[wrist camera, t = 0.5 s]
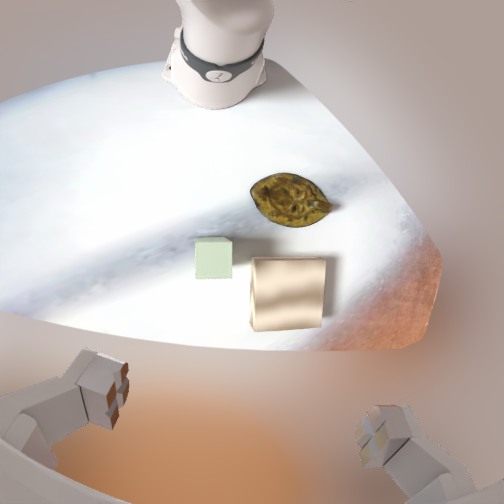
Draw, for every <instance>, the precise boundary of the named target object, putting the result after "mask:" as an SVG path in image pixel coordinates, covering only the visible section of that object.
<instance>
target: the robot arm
mask: <svg viewBox="0 0 504 504" xmlns="http://www.w3.org/2000/svg"><path fill="white" fill-rule="evenodd" d="M175 1H176V2H177V4H178V5H179V7H180V9H181V13H182V20H183V23H182V25H181V27H178V28H176V30H175V35H174V38H175V41H174V43H173V45H172V49H171V51H170V54H169V56H168V59H167V62H166V64H165V67H164V70H163V74H162V76H163V78H164V79H165V80H166V81H167V82H169V83H171V84H173V85H174V86H175V87H176V88H177V90H178V91H179V93H180V94H181V95H182V96H183V97H184V98H185V99H186V100H187V101H189V102H190V103H192V104H194V105H196V106H198V107H202V108H206V109H222V108H227V107H230V106H233V105H235V104H237V103H239V102H240V101H241V100H243V99H244V98H245V97H246V96H247V95H248V94H249V92H250V91H251V90H252V89H253V88H255V87H257V86H259V85H261V84H263V83H264V82H265V81H266V78H267V76H266V71H265V67H264V64H265V59H264V58H263V54H262V49H263V45H264V36H265V34H266V32H267V30H268V28H269V26H270V24H271V22H272V19H273V16H274V6H273V2H272V0H175ZM343 1H349V2H350V1H354V0H343ZM169 68H171V70H169ZM128 371H129V370H128V363H126V362H124V361H121V360H118V359H115V358H113V357H110V356H108V355H105V354H102V353H100V352H97V351H94V350H92V349H89V348H87V347H86V348H84V349H82V350H81V351H80V353H79V354H78V356H77V357H76V358H75V359H74V361H73V362H72V363H71V365H70V366H69V367H68V369H67V370H66V372H65V373H64V374H63V376H62V377H61V378H60V377H58V376H57V377H54V378H51V379H48V380H46V381H43V382H40V383H38V384H35V385H32V386H29V387H26V388H24V389H21V390H18V391H15V392H12V393H9V394H6V395H3V396H1V397H0V504H132V503H129V502H125V501H123V500H120V499H117V498H114V497H112V496H109V495H106V494H104V493H101V492H99V491H96V490H94V489H91V488H89V487H87V486H85V485H82V484H80V483H78V482H76V481H74V480H71V479H69V478H67V477H65V476H63V475H61V474H59V473H57V472H55V471H54V469H55V467H56V465H57V463H58V462H57V459H56V457H55V455H54V454H53V452H52V450H51V449H50V446H51V445H53V444H55V443H56V442H58V441H60V440H62V439H63V438H65V437H67V436H68V435H70V434H72V433H73V432H75V431H76V430H78V429H80V428H82V427H83V426H85V425H86V424H88V423H89V422H91V423H93V424H96V425H99V426H101V427H104V428H107V429H110V430H113V428H114V426H115V424H116V422H117V419H118V417H119V410H118V409H119V408H121V407H122V406H124V404H125V402H126V400H127V396H128V392H129V380H128V378H127V377H126V375H127V373H128ZM367 414H368V416H367V417H365V418H363V419H362V420H361V421H360V422H359V424H358V425H357V429H356V433H355V438H356V442H357V444H358V445H359V446H360V447H361V448H362V449H361V451H360V452H359V454H360V459H361V462H362V466H363V467H380V466H383V467H382V468H383V469H384V470H385V471H386V472H387V474H388V475H389V476H390V477H391V478H392V479H393V480H394V482H395V483H396V484H397V485H398V486H399V487H400V488H401V490H402V491H403V492H404V493H405V494H406V495H407V496H408V497H409V498H410V499H409V500H408V501H406V502H405V503H403V504H504V478H503V479H501V480H499V481H498V482H495V483H494V484H491V485H489V486H487V487H485V488H482V489H480V490H478V491H477V490H476V487H475V485H474V483H473V480H472V478H471V476H470V473H469V471H468V469H467V467H466V466H465V465H464V464H462V463H461V462H460V461H458V460H457V459H456V458H455V457H453V456H452V455H451V454H449V453H448V452H447V451H445V450H444V449H443V448H442V447H441V446H439V445H438V444H437V443H435V442H434V441H433V440H431V439H430V438H429V437H427V436H424V434H423V432H422V429H421V427H420V425H419V423H418V421H417V418H416V416H415V415H414V412H413V410H412V408H411V407H410V406H409V405H373V406H372V407H370V408H369V410H368V411H367Z"/></svg>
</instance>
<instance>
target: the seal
mask: <svg viewBox="0 0 504 504" xmlns="http://www.w3.org/2000/svg"><path fill="white" fill-rule="evenodd" d="M250 193H251V196H252V198H253V200H254V202H255V204H256V207H257V208H258V210H259V211H260V212H261V213H262V214H263V215H264V216H265V217H266V218H267V219H268V220H270V221H272V222H274V223H277V224H280V225H282V226H287V227H305V226H309V225H311V224H313V223H315V222H317V221H319V220H320V219H322V218H323V217H324V216H325V215H326V214H327V213H329V212H330V211H331V210H332V204H331V203H327V201H326V199H325V197H324V195H323V194H322V192H321V191H320V189H318V187H316V186H315V185H314V184H313V183H312V182H311V181H309V180H306V179H304V178H302V177H300V176H298V175H295V174H289V173H277V174H274V175H270V176H268V177H266V178H264V179H261V180H260V181H258V182H257V183H255V184H254V185H253V186H252V188H251V189H250Z"/></svg>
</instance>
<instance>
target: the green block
mask: <svg viewBox="0 0 504 504" xmlns="http://www.w3.org/2000/svg"><path fill="white" fill-rule="evenodd" d="M195 270H196V279H222V278H232V242H231V241H230V240H228V239H227V238H225V237H195Z"/></svg>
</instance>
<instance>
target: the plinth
mask: <svg viewBox="0 0 504 504" xmlns="http://www.w3.org/2000/svg"><path fill="white" fill-rule="evenodd" d="M325 272H326V260H324V259H321V258H318V257H251V282H250V324H251V326H252V328H253V330H254V332H264V331H280V330H294V329H307V328H318V327H321V322H322V311H323V299H324V286H325Z"/></svg>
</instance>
